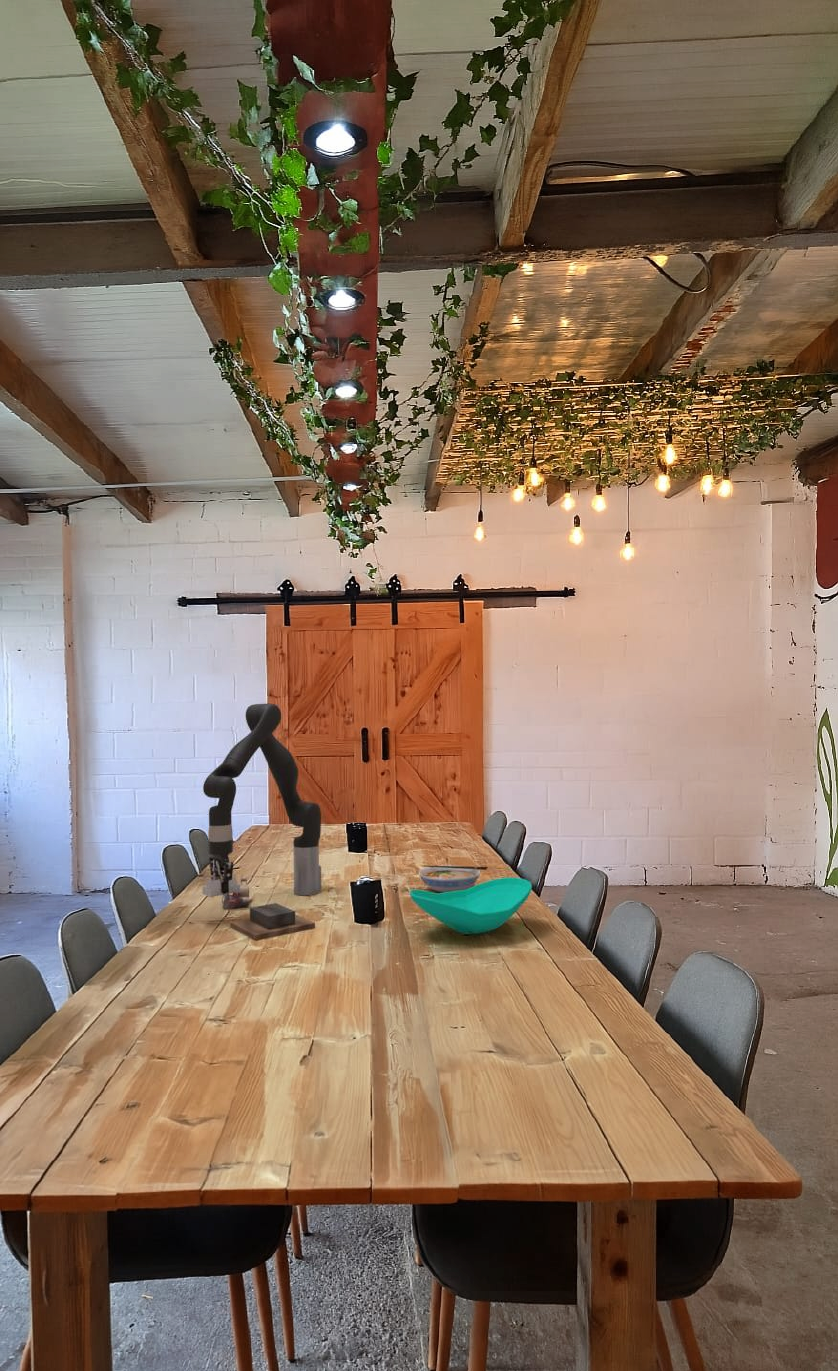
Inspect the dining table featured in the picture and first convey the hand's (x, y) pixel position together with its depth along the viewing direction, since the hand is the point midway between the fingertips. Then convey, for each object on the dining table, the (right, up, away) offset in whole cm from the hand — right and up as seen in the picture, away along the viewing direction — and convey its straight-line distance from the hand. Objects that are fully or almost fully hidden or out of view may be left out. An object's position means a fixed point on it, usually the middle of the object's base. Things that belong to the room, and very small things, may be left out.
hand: (221, 891), depth 249 cm
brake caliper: (0, -10, +19) cm, 22 cm away
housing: (0, 0, 0) cm, 0 cm away
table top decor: (+80, -9, -14) cm, 81 cm away
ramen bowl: (+75, -10, +35) cm, 83 cm away
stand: (+18, -9, -7) cm, 21 cm away
